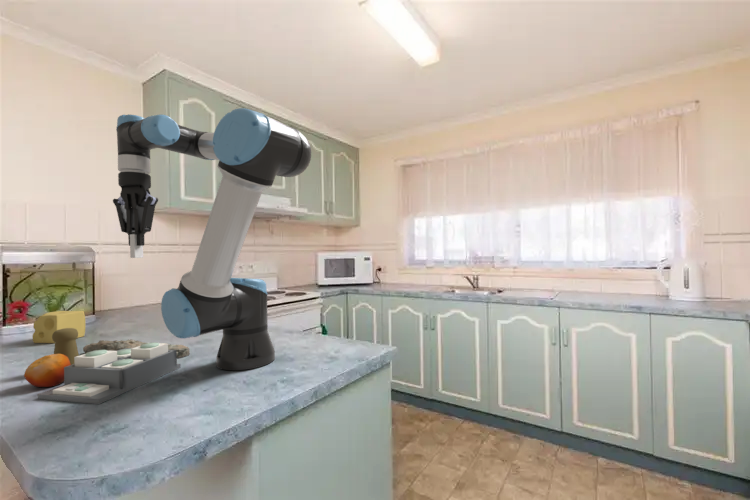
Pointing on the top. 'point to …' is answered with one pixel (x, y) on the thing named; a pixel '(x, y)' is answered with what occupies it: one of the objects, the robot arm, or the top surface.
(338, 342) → the top surface
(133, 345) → the elongated rock
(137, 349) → the button
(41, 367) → the fruit
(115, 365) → the button
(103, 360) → the button
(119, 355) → the button
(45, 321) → the cheese
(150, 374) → the button panel
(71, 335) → the cork
